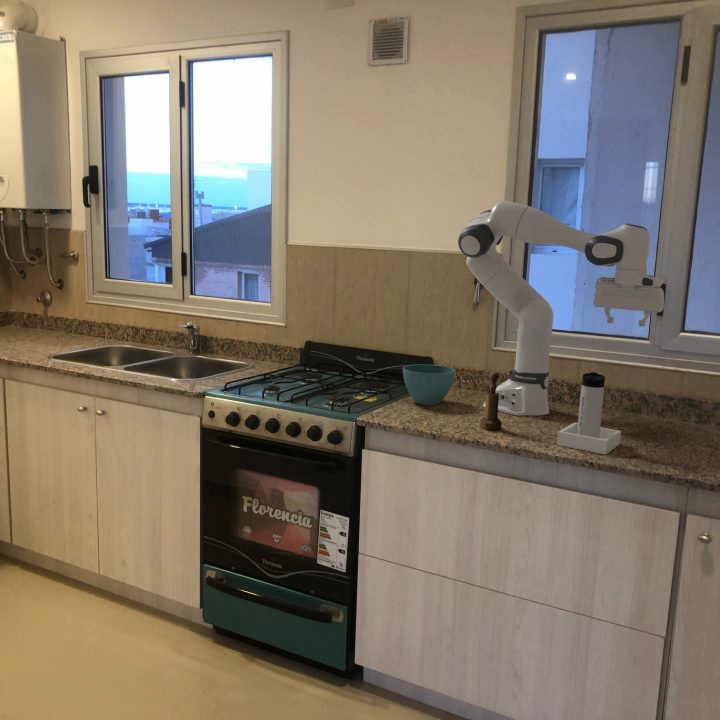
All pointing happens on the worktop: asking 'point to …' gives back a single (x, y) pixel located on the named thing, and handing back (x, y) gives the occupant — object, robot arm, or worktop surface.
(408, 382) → the teal bowl
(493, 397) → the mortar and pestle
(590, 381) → the travel mug
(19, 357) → the worktop surface
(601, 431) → the tray
